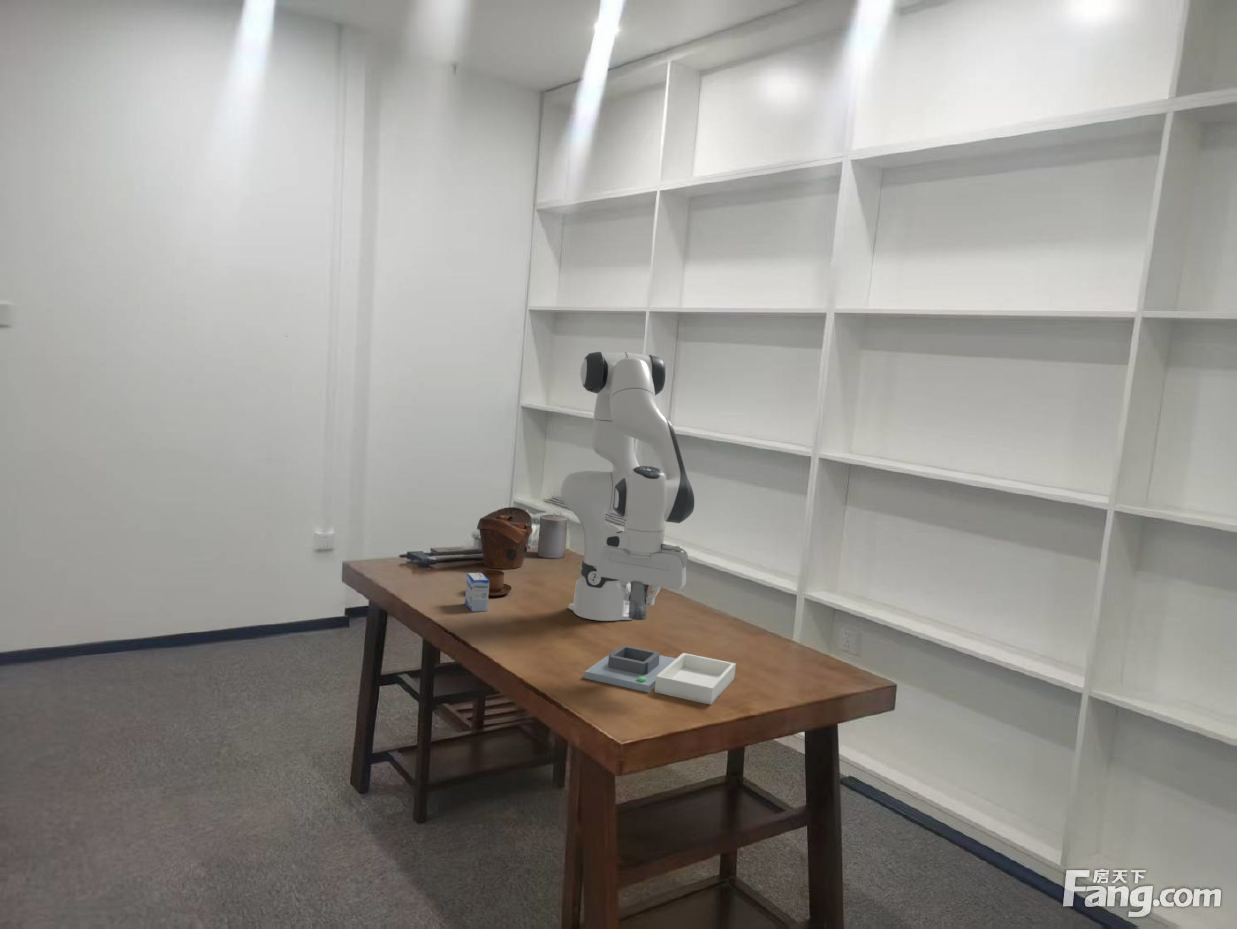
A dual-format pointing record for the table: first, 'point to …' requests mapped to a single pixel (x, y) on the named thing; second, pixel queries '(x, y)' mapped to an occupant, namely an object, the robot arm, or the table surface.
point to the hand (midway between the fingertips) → (638, 602)
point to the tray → (695, 678)
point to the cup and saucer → (496, 582)
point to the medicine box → (477, 592)
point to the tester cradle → (629, 668)
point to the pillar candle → (552, 536)
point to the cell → (638, 601)
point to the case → (505, 537)
